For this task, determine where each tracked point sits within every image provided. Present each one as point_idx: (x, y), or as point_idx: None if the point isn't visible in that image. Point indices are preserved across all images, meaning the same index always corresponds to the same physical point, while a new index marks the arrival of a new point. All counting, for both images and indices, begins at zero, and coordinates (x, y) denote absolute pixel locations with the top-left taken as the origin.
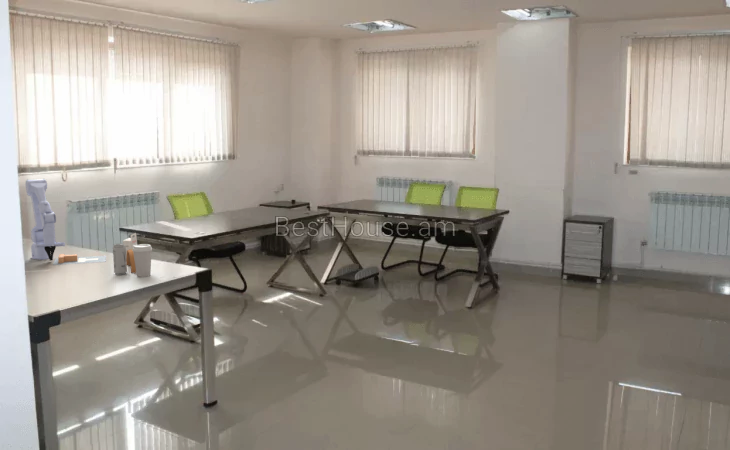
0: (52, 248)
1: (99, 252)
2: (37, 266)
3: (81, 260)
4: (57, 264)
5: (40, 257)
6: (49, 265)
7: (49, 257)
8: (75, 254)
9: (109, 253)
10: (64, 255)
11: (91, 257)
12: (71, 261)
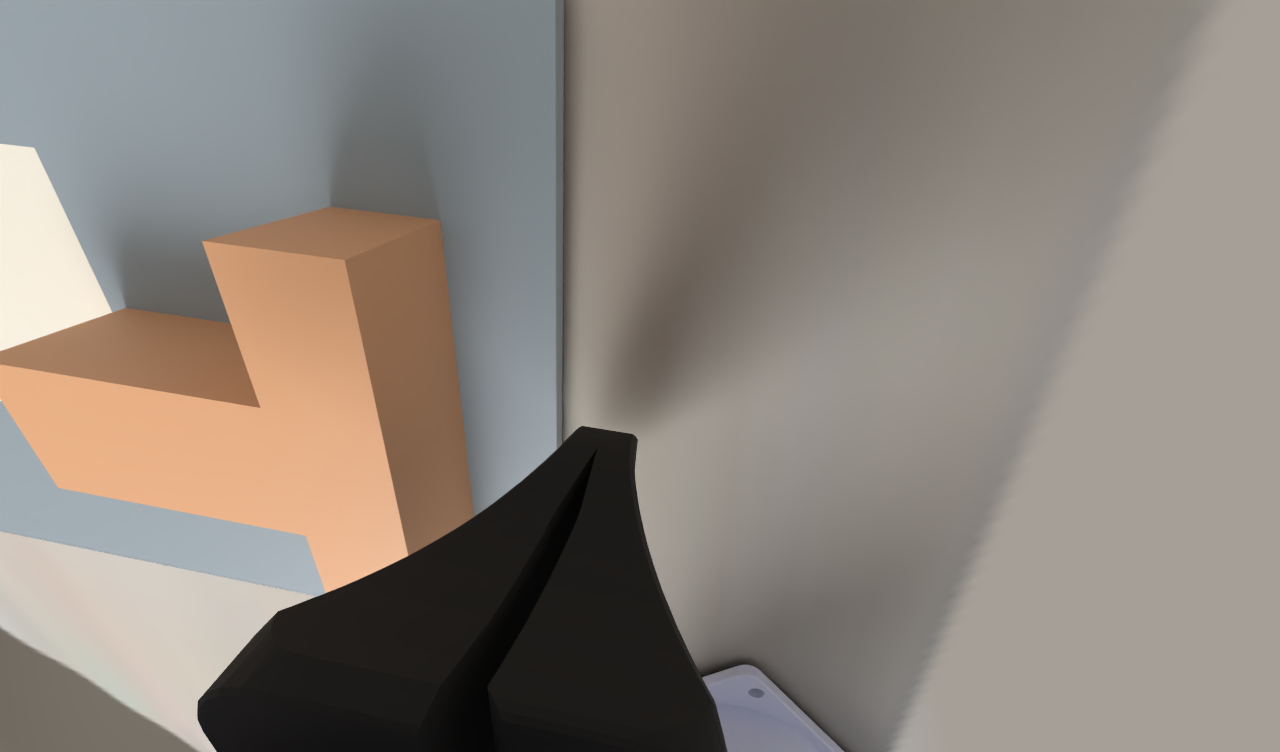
0: (320, 673)
1: (154, 708)
2: (979, 123)
3: (62, 311)
4: (432, 24)
5: (773, 740)
6: (653, 134)
7: (616, 472)
8: (83, 484)
9: (14, 629)
10: (280, 488)
11: (39, 481)
12: (216, 298)
